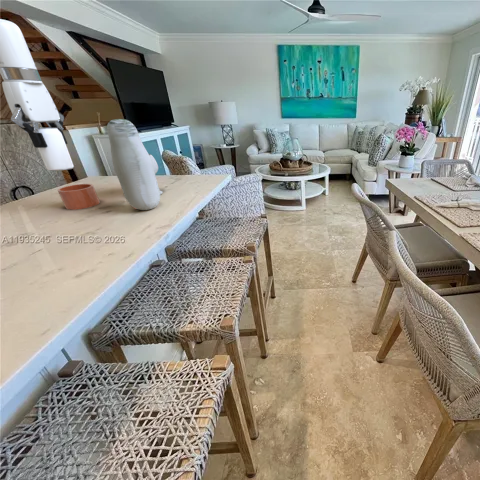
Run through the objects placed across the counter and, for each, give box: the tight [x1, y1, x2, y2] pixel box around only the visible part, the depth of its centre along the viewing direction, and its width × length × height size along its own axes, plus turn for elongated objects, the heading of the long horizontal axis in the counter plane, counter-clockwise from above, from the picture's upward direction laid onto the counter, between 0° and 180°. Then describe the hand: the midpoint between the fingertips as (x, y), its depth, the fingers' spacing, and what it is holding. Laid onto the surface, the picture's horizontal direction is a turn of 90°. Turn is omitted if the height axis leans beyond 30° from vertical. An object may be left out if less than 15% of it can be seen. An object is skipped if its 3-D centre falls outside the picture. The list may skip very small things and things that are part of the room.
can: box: [37, 127, 75, 172], centre depth 81 cm, size 6×6×12 cm
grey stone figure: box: [106, 118, 161, 211], centre depth 84 cm, size 10×10×28 cm
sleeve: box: [57, 183, 101, 211], centre depth 90 cm, size 9×9×7 cm
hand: (51, 145), depth 80 cm, fingers closed on can, 6 cm apart
